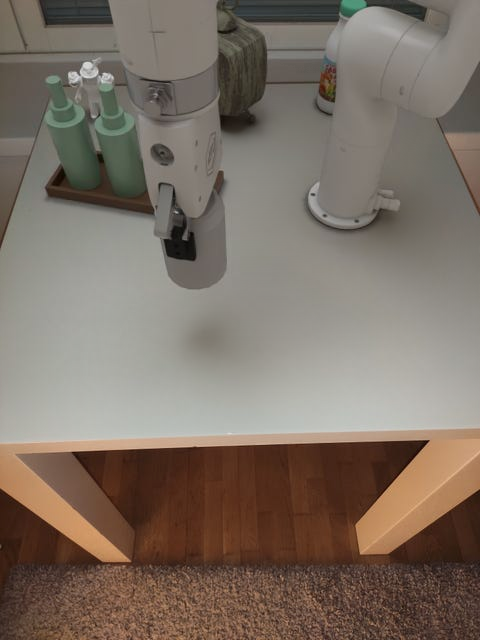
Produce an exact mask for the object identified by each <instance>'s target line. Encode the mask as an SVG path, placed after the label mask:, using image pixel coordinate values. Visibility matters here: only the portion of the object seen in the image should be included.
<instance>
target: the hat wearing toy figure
mask: <svg viewBox="0 0 480 640" xmlns="http://www.w3.org/2000/svg"><path fill="white" fill-rule="evenodd" d="M102 59H103V57H102V56H101V57H100V56H99V57H98V58H96V59H92V60H91V61H92V62H91V61H85V62H83V63H82V66H81V68H80V70H79V74H80V75H79V74H78V72H77V71H74V70H70V71H68V73H67V79H68V85H70V87H72V88H74V89H76V93H75V97H74V101H75V102H76V104H78V103H80V101H81V100H82V96H83V95H82V93H83V92H84V91H85V92H86V94H87V101H88V108H89V113H90V117H91V118H92V119H97V118H98V117H99V116H100V115H99V114H100V112H99V110H100V111H101V109H102V108H103V104H102V100H101V97H100V93H99V89H98V88H99V86H100V85H101V84H103V83H110V84H112V85H113V87H114V88H115V87H116V86H115V77H114V75H112V74H111V73H110V72H108V73H107V72H105V71H104V72H103V73H102V76H101V75H100V74H99V68H98V66H99V65H98V64H101V63H102V62H103V60H102ZM73 84H74V85H73ZM75 84H77V85H75ZM97 105H98V107H99V110H98V109H97Z"/></svg>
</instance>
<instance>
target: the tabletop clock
mask: <svg viewBox="0 0 480 640" xmlns="http://www.w3.org/2000/svg"><path fill="white" fill-rule="evenodd" d="M239 2H240V0H235V4H234V5H227V1H226V0H219V1H218V2H217V5H216V7H217V8H216V9H217V34H218V54H219V78H220V97H219V99H218V107H219V117H220V123H221V122H222V116H230V117H239V115H241V114H243V113H244V112H245V113H246V114H247V116H248V117H247V120H248V121H249V122H250V123H254V122H255V121H256V120H257V116H256V114H254V113H251V112H250V110H249V109H250V108H252V107H253V106H254V105H255V104H257V103H258V102H260V101H261V100H262V99H263V96H264V94H265V90H266V84H267V78H268V47H267V41H266V36H265V35H264V33H263V32H262V31H261V30H260V29H259V28H258V27H256V25H253V24H252V23H250V22H248V21H246V20H244V19H242V18H240V17H238V16H236V14H235V13H234V12H233V11H234V10H235V9H237V8H238V5H239ZM221 115H222V116H221Z"/></svg>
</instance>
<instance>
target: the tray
mask: <svg viewBox="0 0 480 640" xmlns="http://www.w3.org/2000/svg"><path fill="white" fill-rule="evenodd" d="M96 152H97V156H98V159H99V162H100V166H101V169H102V173H103V181H102V183H101V184H100V185H99V186H97V187H96V188H94V189H91V190H87V191H81V190H75V189H73V188H72V187H71V186H70V185H69V183H68V180H67V178H66V175H65V172H64V170H63V167H62V164H61V162H60V164H59V165H58V166H57V167H56V169H55V171H54V172H53V174H52V175H51V177H50V178H49V180H48V182H47V183H46V184H45V186H44V190H45V192H46V195H47V196H48V197H51V198H54V199H55V198H56V199H61V200H66V201H67V200H68V201H74V202H78V203H85V204H91V205H95V206H101V207H107V208H113V209H118V210H124V211H130V212H136V213H141V214H148V215H154V216H155V214H154V212H155V209H154V208H153V206H152V203H151V200H150V197H149V193H148V188H146V190H145V191H144V192H143V193H142V194H141V195H139V196H137V197H134V198H121V197H118V196H117V195H115V194H114V193H113V191H112V188H111V184H110V181H109V177H108V174H107V170H106V166H105V163H104V159H103V156H102V152H101V150H96ZM142 161H143V159H142ZM224 175H225V173H224V170H221V169H219V172H218V175H217V178H216V181H215V183H214V189H215V190H216V192H217V194H218V195H219V194H220V192H221V188H222V187H223V183H224V181H225V176H224Z"/></svg>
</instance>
